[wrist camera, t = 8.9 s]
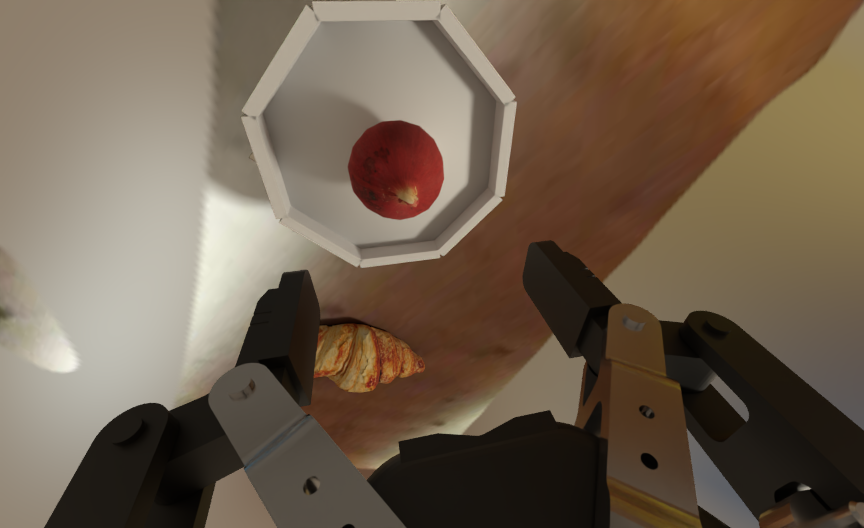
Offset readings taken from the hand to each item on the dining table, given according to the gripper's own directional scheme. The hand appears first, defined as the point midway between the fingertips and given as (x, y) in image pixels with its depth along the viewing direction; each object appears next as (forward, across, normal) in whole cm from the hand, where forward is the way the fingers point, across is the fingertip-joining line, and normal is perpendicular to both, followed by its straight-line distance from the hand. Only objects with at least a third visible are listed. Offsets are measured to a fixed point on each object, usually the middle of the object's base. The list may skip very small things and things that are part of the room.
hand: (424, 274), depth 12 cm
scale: (+22, 0, 0) cm, 22 cm away
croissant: (+22, +7, +28) cm, 36 cm away
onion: (+14, 0, 0) cm, 14 cm away
